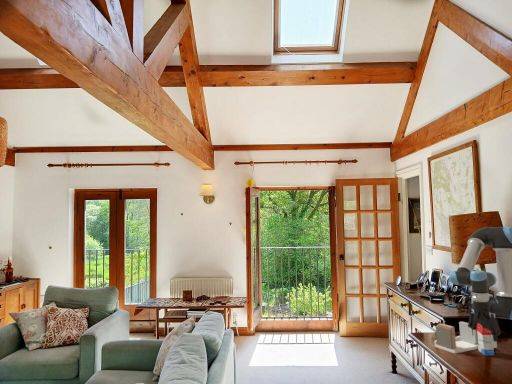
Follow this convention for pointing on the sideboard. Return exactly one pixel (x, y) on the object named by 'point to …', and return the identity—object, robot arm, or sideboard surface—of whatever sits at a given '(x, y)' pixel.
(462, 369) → the sideboard surface
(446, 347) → the rack
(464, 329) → the bookend
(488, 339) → the ink box
